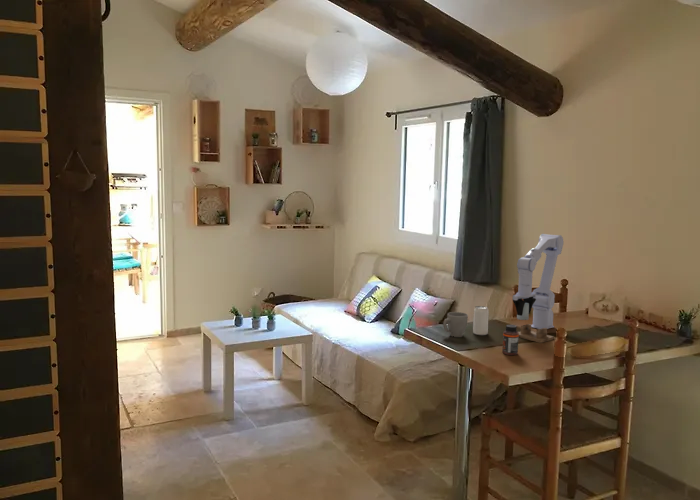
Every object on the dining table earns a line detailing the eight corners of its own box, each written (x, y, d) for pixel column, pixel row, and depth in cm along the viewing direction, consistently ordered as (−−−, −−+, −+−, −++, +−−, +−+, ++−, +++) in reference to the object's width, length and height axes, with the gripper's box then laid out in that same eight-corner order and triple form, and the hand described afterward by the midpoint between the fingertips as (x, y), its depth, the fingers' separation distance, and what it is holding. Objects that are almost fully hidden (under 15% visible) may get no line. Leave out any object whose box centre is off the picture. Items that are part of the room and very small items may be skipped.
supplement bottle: (500, 351, 243) (501, 323, 241) (514, 351, 243) (516, 323, 242) (505, 355, 237) (506, 327, 235) (519, 355, 237) (521, 327, 236)
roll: (521, 317, 274) (522, 301, 273) (530, 319, 269) (531, 303, 269) (514, 318, 271) (514, 303, 270) (523, 320, 267) (524, 304, 266)
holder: (526, 332, 273) (526, 322, 273) (553, 339, 263) (554, 328, 262) (512, 335, 267) (513, 325, 267) (540, 342, 256) (541, 332, 256)
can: (487, 335, 266) (489, 309, 265) (472, 334, 268) (474, 308, 266) (487, 332, 273) (488, 306, 271) (472, 331, 274) (474, 305, 272)
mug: (457, 332, 272) (458, 311, 271) (471, 336, 264) (472, 315, 263) (436, 335, 266) (437, 313, 265) (449, 340, 258) (450, 317, 257)
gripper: (527, 281, 276) (525, 310, 277) (507, 284, 267) (505, 314, 268) (540, 284, 270) (539, 313, 272) (520, 287, 261) (519, 317, 263)
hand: (523, 314), depth 270 cm, fingers closed on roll, 5 cm apart
